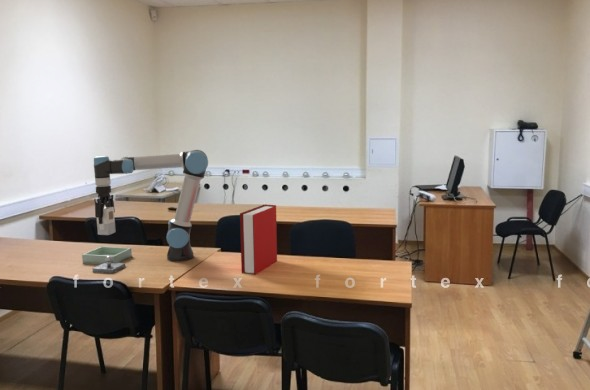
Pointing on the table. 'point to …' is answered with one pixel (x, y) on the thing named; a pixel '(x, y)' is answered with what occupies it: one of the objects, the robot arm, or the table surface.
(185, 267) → the table surface
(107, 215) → the white grey block
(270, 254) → the book
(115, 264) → the stud block
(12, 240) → the table surface
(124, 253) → the bin
